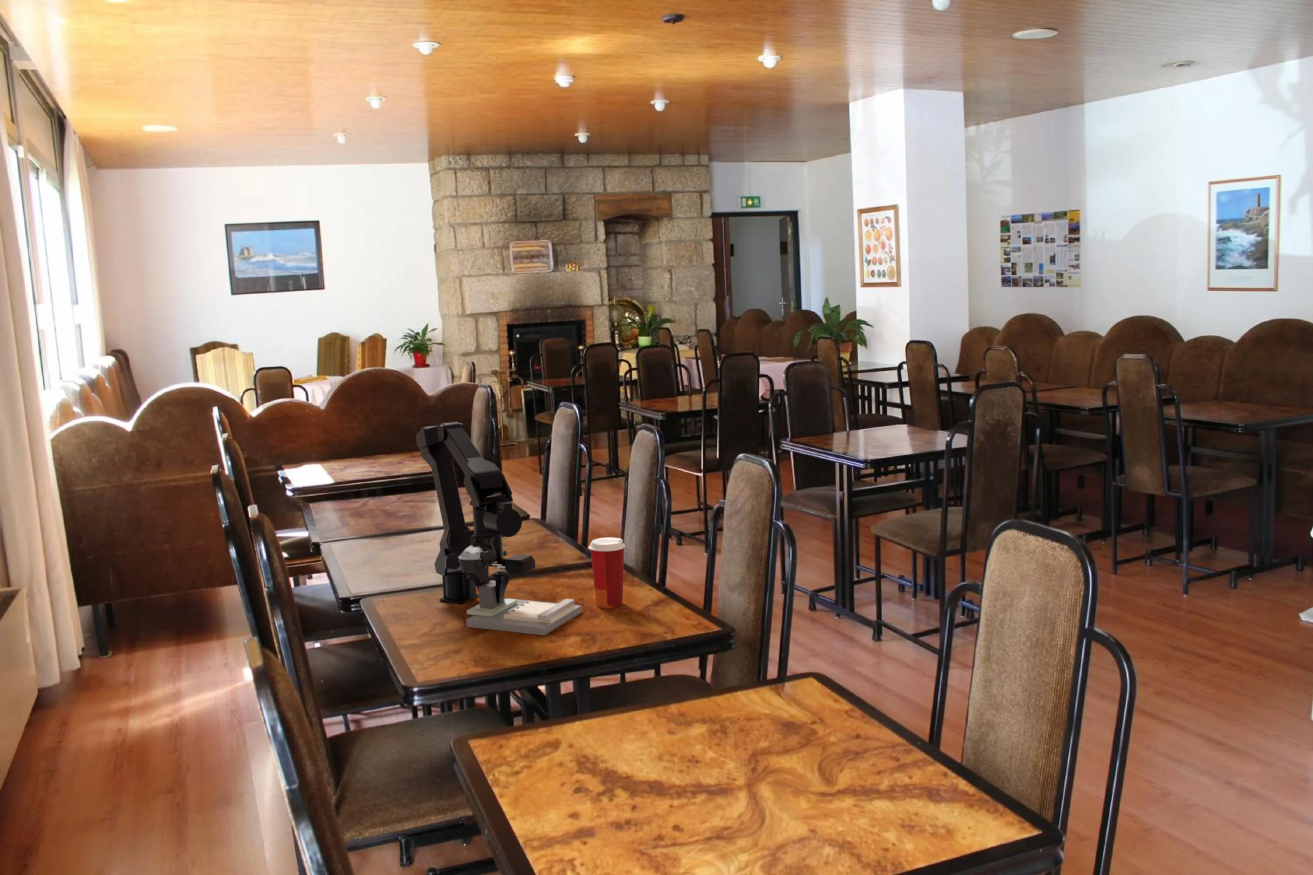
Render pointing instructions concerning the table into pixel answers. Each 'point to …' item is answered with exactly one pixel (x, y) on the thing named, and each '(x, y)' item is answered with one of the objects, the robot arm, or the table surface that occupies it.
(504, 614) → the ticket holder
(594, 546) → the paper cup
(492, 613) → the gray block on plate
